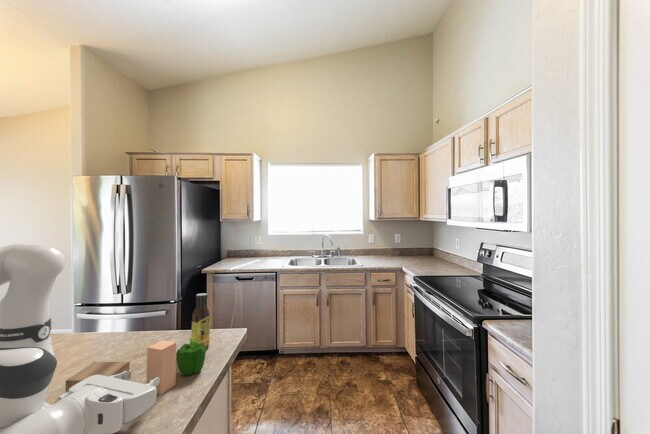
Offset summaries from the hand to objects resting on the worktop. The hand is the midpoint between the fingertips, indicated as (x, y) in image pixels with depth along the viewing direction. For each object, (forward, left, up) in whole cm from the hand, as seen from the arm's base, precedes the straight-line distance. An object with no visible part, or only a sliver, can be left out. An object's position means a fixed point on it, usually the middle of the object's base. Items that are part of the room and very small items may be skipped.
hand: (142, 376), depth 75 cm
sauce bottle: (+3, +31, -7) cm, 32 cm away
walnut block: (-15, +6, -6) cm, 18 cm away
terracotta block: (+2, +6, -6) cm, 9 cm away
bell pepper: (+6, +15, -7) cm, 18 cm away
